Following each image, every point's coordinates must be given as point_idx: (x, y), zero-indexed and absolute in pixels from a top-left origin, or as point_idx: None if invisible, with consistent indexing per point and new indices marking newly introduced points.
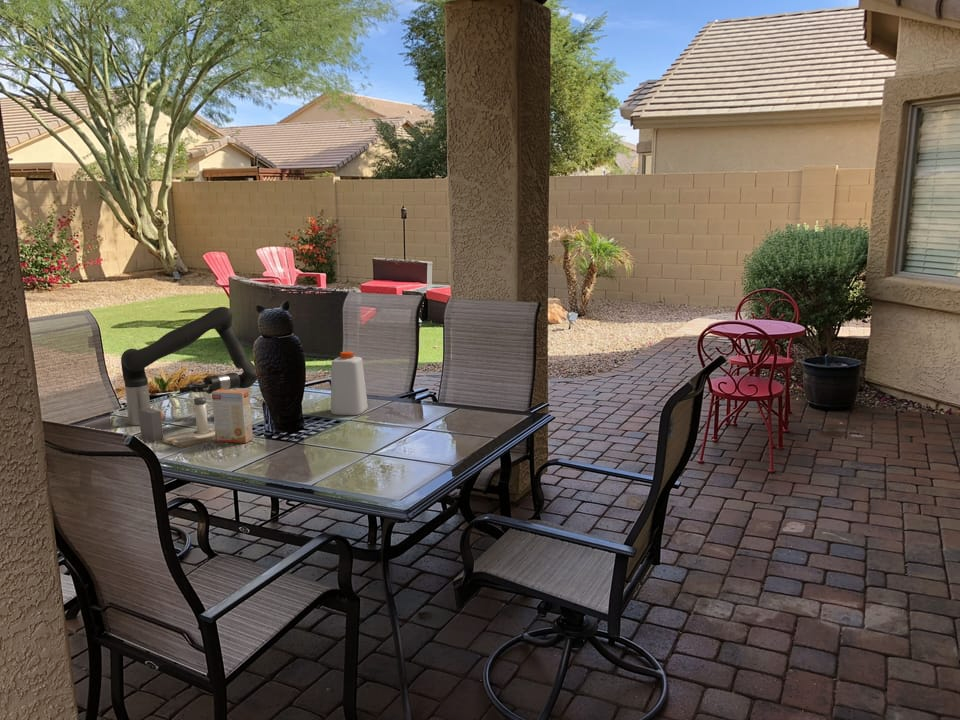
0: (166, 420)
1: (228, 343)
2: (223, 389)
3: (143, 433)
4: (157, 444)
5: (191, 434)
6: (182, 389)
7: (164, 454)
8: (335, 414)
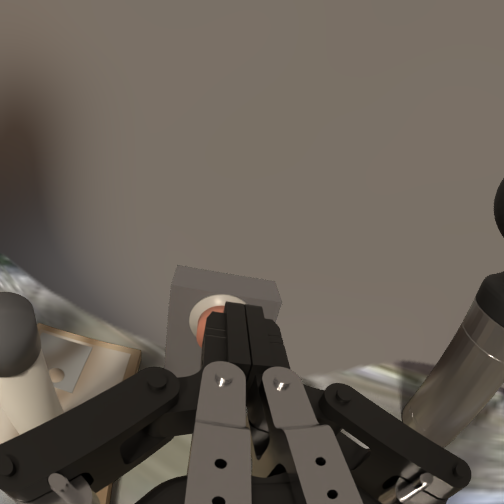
0: None
1: None
2: None
3: None
4: (135, 340)
5: (71, 404)
6: (223, 316)
7: (54, 294)
8: None
